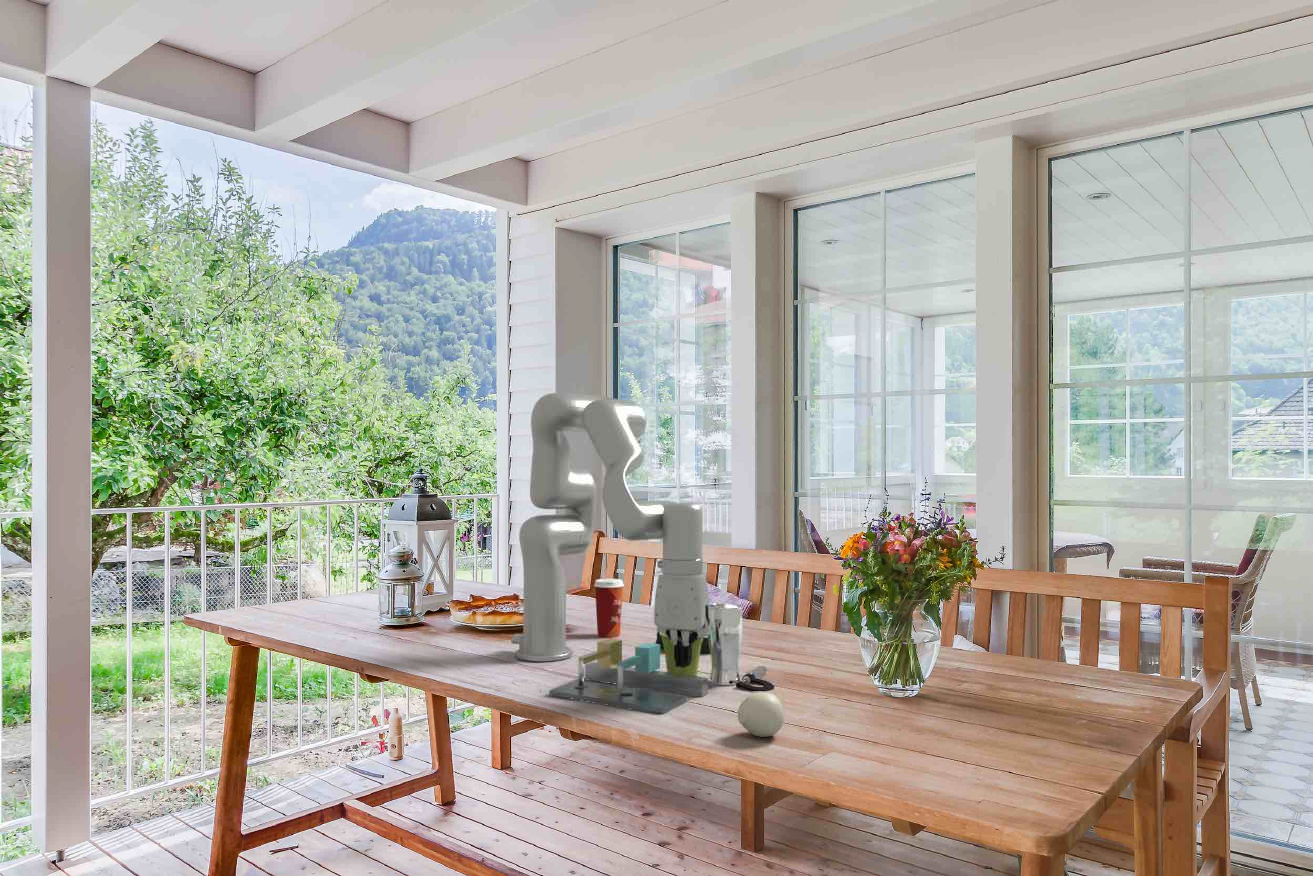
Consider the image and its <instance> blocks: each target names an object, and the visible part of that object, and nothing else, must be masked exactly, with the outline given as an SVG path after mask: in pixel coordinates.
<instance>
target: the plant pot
mask: <svg viewBox="0 0 1313 876" xmlns="http://www.w3.org/2000/svg"><path fill="white" fill-rule="evenodd" d="M682 631H683V630H682ZM698 631H699V630H698ZM659 634H660V636H661V637H662V642H663V645H664V648H663V651H664V658H665V663H666V672H669V673H677V674H684V675H691V676H698V671H699V663H700V649H701V643H702V641H703V637H700V638H698V639H697V640H696V641H695V642H694V643H693V644H692V661H691V664H690V665H689V666H687V667H684V668H681V667H676V666H675V660H674V645H673V644H672V643H671V640H670V639H669V637H668V636H667V635H666V634H663V633H660V632H659ZM683 634H684V631H683Z"/></svg>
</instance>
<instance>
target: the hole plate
mask: <svg viewBox="0 0 1313 876" xmlns="http://www.w3.org/2000/svg"><path fill="white" fill-rule="evenodd" d="M549 695H552V696H551V697H554V696H558V697H557V698H560V697H566V698H573V699H576V700H575V701H578V700H583V701H582V702H584V701H589V702H588V703H591V702H595V703H594V704H597V703H600V704H599V705H603V704H608V705H607V706H609V705H613V706H612V707H615V706H619V707H618V708H621V707H624V708H623V709H627V708H631V709H630V710H634V711H635V710H636V711H641V712H646V711H647V712H646V713H654V714H658V713H660V714H659V715H664V714H666V713H668V712H670V711H672V710H673V708H674V709H675V707H676V708H678V707H679V705H680V706H681V704H682V705H683V704H685V703H687V702H688V696H687V695H683V694H677V693H670V692H663V691H657V690H650V689H643V688H636V687H630V686H623V692H618V685H616V684H609V683H603V682H596V681H589V680H584V686H578V679H576V680H573V681H570V682H568V683H565V684H562V685H560V686H557V687H555V688H552V689H549ZM566 698H565V699H566ZM677 706H678V707H677Z"/></svg>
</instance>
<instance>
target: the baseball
mask: <svg viewBox="0 0 1313 876" xmlns="http://www.w3.org/2000/svg"><path fill="white" fill-rule="evenodd" d="M784 711H785V710H784V707H783V704H782V702H781V701H780V699H779V698H778V696H776V695H774V694H773V693H769V692H767V691H763V692H753V693H751V694H750V695H747V696H746V697H745V699H744V700H742V702H741V703H740V705H739V707H738V709H737V720H738V722H739V724H740V725H741V726H742V727H743V728H744V729H745V730H746V731H747V732H748V733H750V734H751V735H753V736H755V737H760V738H767V737H771V736H774V735H776V734H777V733H778V732H779V731H780V730H781V729H782V727H783V724H784V721H785V712H784Z"/></svg>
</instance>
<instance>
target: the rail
mask: <svg viewBox="0 0 1313 876" xmlns="http://www.w3.org/2000/svg"><path fill="white" fill-rule="evenodd" d="M584 673H585V674H584V680H585V679H588V680H587V681H591V680H595V681H594V682H598V681H601V682H600V683H605V682H609V683H608V684H611V683H616V684H615V685H618V666H617V667H615V668H612V669H604V668H597V662H596V661H592V662H589V663H586V664H584ZM625 685H626V686H625ZM623 686H625V687H631V688H639V687H640V688H639V689H644V690H651V691H659V690H660V691H659V692H665V693H672V692H673V693H672V694H679V693H680V694H679V695H685V696H687V695H688V696H692V697H693V696H695V697H699V696H700V697H701V698H703V697H705V696H706V695H709V678H708V677H705V676H698V675H696V676H691V675H684V674H677V673H669V672H667V671H662V670H661V671H660V670H655V671H652V672H650V673H645V672H638V671H635V667H633V666H632V667H629V668H627V669H624V670H623Z"/></svg>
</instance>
